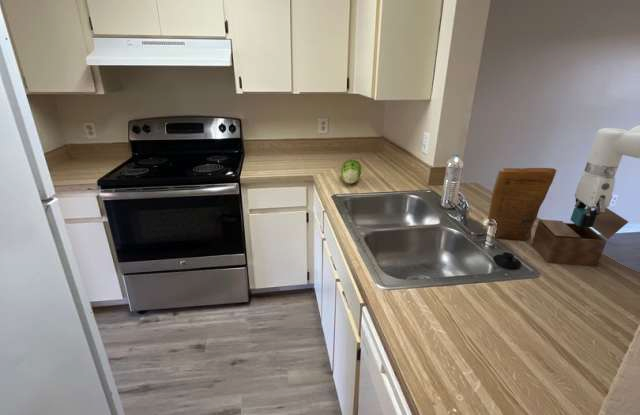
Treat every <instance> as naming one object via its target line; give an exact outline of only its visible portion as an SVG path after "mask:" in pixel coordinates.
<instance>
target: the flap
mask: <svg viewBox="0 0 640 415" xmlns="http://www.w3.org/2000/svg"><path fill="white" fill-rule="evenodd" d="M628 223H629V221H628V220H627V219H625V218H624V217H622V216H620V215H619V214H617V213H616V212H614V211H613V210H611V209H609V207H607V208H605V212H604V213H601V214H599V215H598V216H597V217H596V219H595V222H594V225H593V227H592V228H593V230H594V231H595V232H596V231H597V233H598V234H599V235H601V236H602V237H603V238H606V240H609V239H610V238H612V237H613V236H614V235H615V234H617V232H619V231H620V230H622V228H624V227H625V226H626V225H627V224H628Z"/></svg>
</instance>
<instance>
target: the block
mask: <svg viewBox="0 0 640 415" xmlns="http://www.w3.org/2000/svg"><path fill="white" fill-rule="evenodd" d="M591 211H593V209H591ZM586 212H587V207H586V208H575V207H574V208H573V211H572V214H571V217H570V222H571V223H575V224H576V225H577V226H581V223H582V220H583V217H584V215H586ZM595 219H596V218H595ZM594 222H595V221H594ZM593 225H594V224H593ZM591 228H593V226H592V227H591Z"/></svg>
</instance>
